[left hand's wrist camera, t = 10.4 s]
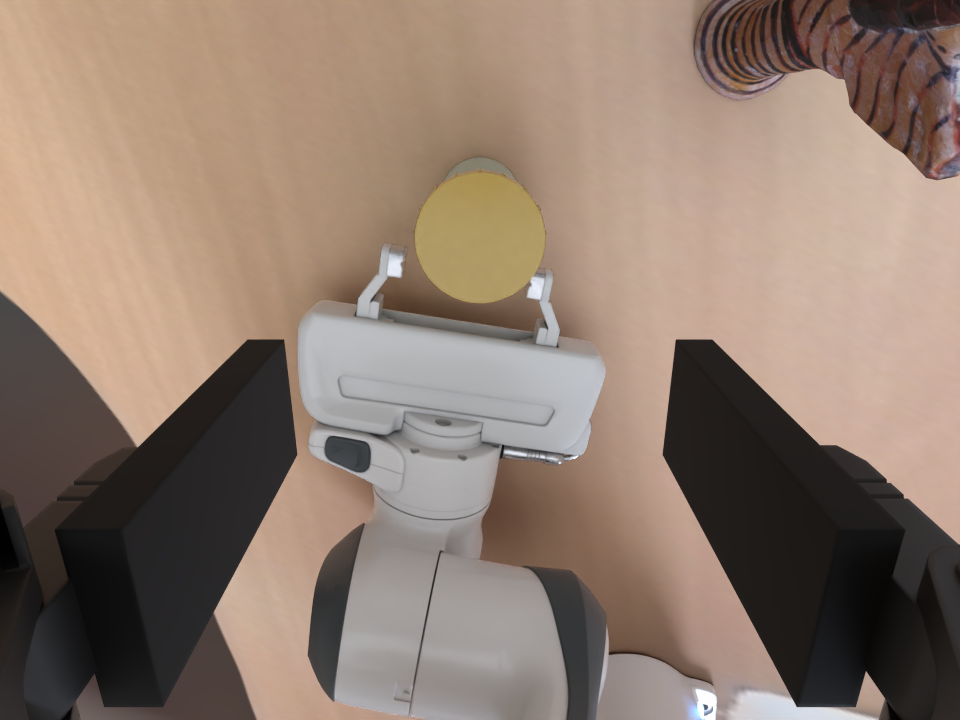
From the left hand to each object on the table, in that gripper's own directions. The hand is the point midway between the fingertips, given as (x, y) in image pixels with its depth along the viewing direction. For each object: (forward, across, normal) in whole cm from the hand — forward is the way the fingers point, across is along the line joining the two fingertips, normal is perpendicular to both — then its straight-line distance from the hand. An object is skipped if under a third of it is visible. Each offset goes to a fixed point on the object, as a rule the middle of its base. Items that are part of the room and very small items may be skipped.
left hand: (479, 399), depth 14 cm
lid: (+19, 0, 0) cm, 19 cm away
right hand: (+28, +1, +3) cm, 28 cm away
